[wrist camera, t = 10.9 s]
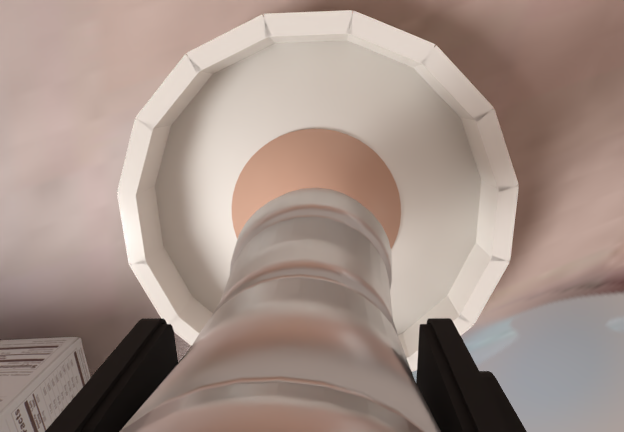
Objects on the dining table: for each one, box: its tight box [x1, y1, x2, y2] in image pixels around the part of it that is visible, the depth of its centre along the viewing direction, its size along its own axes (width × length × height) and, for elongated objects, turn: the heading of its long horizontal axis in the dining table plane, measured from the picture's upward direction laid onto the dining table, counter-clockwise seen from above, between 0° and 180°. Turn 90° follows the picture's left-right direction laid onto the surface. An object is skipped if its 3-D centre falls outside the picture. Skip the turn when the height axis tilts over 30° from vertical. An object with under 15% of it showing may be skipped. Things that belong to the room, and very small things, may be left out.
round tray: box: [117, 10, 519, 372], centre depth 24 cm, size 21×21×4 cm
